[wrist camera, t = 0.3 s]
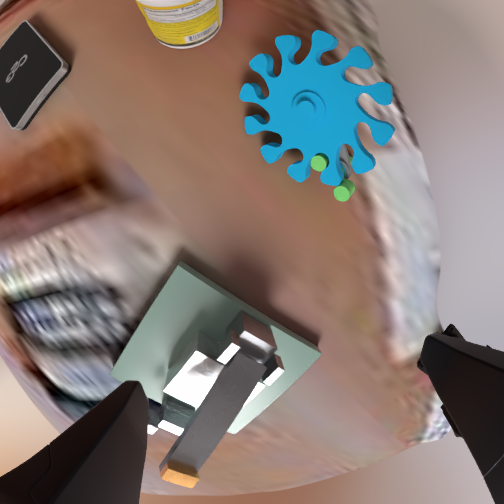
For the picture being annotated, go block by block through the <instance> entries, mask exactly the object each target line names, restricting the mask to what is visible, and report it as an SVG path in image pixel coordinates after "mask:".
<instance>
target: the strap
mask: <svg viewBox="0 0 504 504" xmlns="http://www.w3.org/2000/svg"><path fill="white" fill-rule="evenodd" d="M266 369H267V367H266V366H264V365H263V364H261V363H259V362H257V361H255V360H253V359H251V358H249V357H248V356H246V355H244V354H242V353H240V352H238V351H237V352H236V353H235V354H234V355H233V356H232V357H231V358H230V360H229V361H228V362H227V363H226V364H225V365H224V367H223V368H222V370H221V372H220V373H219V375H218V376H217V378H216V380H215V381H214V383H213V385H212V386H211V388H210V389H209V391H208V392H207V394H206V396H205V397H204V399H203V400H202V402H201V404H200V405H199V407H198V408H197V410H196V411H195V413H194V414H193V416H192V418H191V419H190V421H189V422H188V424H187V425H186V427H185V428H184V430H183V431H182V433H181V434H180V436H179V437H178V439H177V441H176V442H175V444H174V445H173V447H172V448H171V450H170V451H169V452H168V454H167V455H166V457H165V458H164V460H163V461H162V463H161V464H160V466H159V468H160V475H161V479H163V480H166V481H169V482H172V483H175V484H179V485H182V486H185V487H189V488H193V487H194V485H195V484H196V483H197V481H198V480H199V476H198V473H197V472H198V471H199V470H200V468H201V467H202V466H203V464H204V463H205V461H206V460H207V459H208V457H209V456H210V455H211V453H212V452H213V450H214V449H215V448H216V446H217V445H218V443H219V442H220V440H221V439H222V438H223V436H224V435H225V433H226V432H227V430H228V429H229V427H230V426H231V424H232V423H233V421H234V420H235V418H236V417H237V415H238V414H239V412H240V411H241V409H242V408H243V406H244V405H245V403H246V401H247V400H248V398H249V397H250V395H251V394H252V392H253V390H254V389H255V387H256V386H257V384H258V382H259V381H260V379H261V377H262V376H263V374H264V373H265V371H266Z"/></svg>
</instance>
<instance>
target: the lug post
mask: <svg viewBox="0 0 504 504" xmlns="http://www.w3.org/2000/svg"><path fill="white" fill-rule="evenodd" d="M194 413H195V409H194V408H192V407H189V406H187V405H185V404H183V403H181V402H179V401H177V400H175V399H173V398H170V397H168V396H167V397H166V398H165V399H164V400H163V402H162V404H161V409H160V414H159V418H157V417H155V416H153V415H150V417H149V418H148V432H147V433H149V434H153V433H154V432H155V431H156V430H157V429H158V427H160V428H163V429H165V430H167V431H169V432H172V433H174V434H176V435H179V436H180V434H181V433H182V431H183V430H184V428H185V427H186V425H187V424H188V422H189V421H190V419H191V418H192V416H193V414H194Z"/></svg>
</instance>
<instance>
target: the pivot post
mask: <svg viewBox="0 0 504 504" xmlns="http://www.w3.org/2000/svg"><path fill="white" fill-rule="evenodd" d="M277 350H278V348H277V345H276V342H275V339H274V336H273V333H272V329H271V327H270V326H268V325H266V324H265V323H263V322H261V321H260V320H258V319H256V318H255V317H253V316H251V315H250V314H248V313H246V312H245V311H243V310H242V309H241V311H240V312H239V313H238V314H237V315H236V317H235V318H234V319H233V320H232V322H231V323H230V324H229V325H228V326H227V328H226V336H225V337H224V338H223V339H222V341H221V342H220V343H219V344H218V345H217V360H218V361H220V362H222V363H224V364H226V363H227V362H228V361H229V360H230V358H231V357H232V356H233V355H234V354H235V353H236V352H237V351H238V352H240V353H242V354H244V355H246V356H248V357H249V358H251V359H253V360H255V361H257V362H259V363H261V364H263V365H264V366H266V367H267V369H266V371H265V373H264V374H263V376H262V381H263V383H265V384H267V385H269V386H270V385H271V384H272V383H273V382H274V381H275V380H276V379H277V378H278V377H279V376H280V375H281V374H282V373H283V372H284V371H285V369H284V366H283V363H282V360H281V357H280V356H278V355H276V354H275V352H276V351H277Z"/></svg>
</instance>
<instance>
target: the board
mask: <svg viewBox="0 0 504 504" xmlns="http://www.w3.org/2000/svg"><path fill="white" fill-rule="evenodd" d="M241 309H242V310H243V311H245V312H246V313H248V314H250V315H251V316H253V317H255V318H256V319H258V320H260V321H261V322H263V323H265V324H266V325H268V326H270V327H271V329H272V333H273V336H274V339H275V342H276V345H277V348H278V350H277V351H276V352H275V354H276V355H278V356H280V357H281V360H282V363H283V366H284V369H285V371H284V372H283V373H282V374H281V375H280V376H279V377H278V378H277V379H276V380H275V381H274V382H273V383H272V384H271V385H270V386H269V385H267V384H265V385H266V386H265V387H264V388H263V389H262V390H261V391H260V392H259V393H258V394H257V395H256V396H254V397H253V398H252V399H251V400H250V401H249V402H248V403H247V404H246V405H245V406H243V408H242V409H241V411H240V412H239V414H238V415H237V417H236V418H235V420H234V421H233V423H232V424H231V426H230V427H229V429H228V430H227V432H230V433H233V434H236V433H237V432H238V431H239V430H241V429H242V428H243V427H244V426H246V425H247V424H248V423H249V422H250V421H252V420H253V419H254V418H255V417H256V416H257V415H259V414H260V413H261V412H262V411H263V410H264V409H266V408H267V407H268V406H269V405H270V404H271V403H272V402H273V401H274V400H276V399H277V398H278V397H279V396H280V395H281V394H282V393H283V392H284V391H285V390H286V389H287V388H289V387H290V386H291V385H292V384H293V383H294V382H295V381H296V380H297V379H298V378H299V377H300V376H301V375H302V374H303V373H304V372H305V371H306V370H307V369H308V368H309V367H310V366H311V365H312V364H313V363H314V362H315V361H316V360H317V359H318V358H319V357H320V356H321V355H322V353H321V351H320V350H319V348H318V346H316V345H314V344H313V343H311V342H309V341H307V340H306V339H304V338H302V337H301V336H299V335H297V334H296V333H294V332H292V331H291V330H289V329H287V328H286V327H284V326H282V325H281V324H279V323H277V322H276V321H274V320H272V319H271V318H269V317H268V316H266V315H264V314H263V313H261V312H259V311H258V310H256V309H255V308H253V307H251V306H250V305H248V304H247V303H245V302H243V301H242V300H240V299H239V298H237V297H236V296H234V295H232V294H231V293H229V292H228V291H226V290H225V289H223V288H222V287H220V286H219V285H217V284H215V283H214V282H212V281H211V280H209V279H208V278H206V277H205V276H203V275H202V274H200V273H199V272H197V271H196V270H194V269H193V268H191V267H190V266H188V265H187V264H185V263H184V262H182V261H181V260H180V262H179V263H178V265H177V266H176V268H175V269H174V271H173V272H172V274H171V275H170V277H169V278H168V280H167V281H166V283H165V284H164V286H163V287H162V289H161V290H160V292H159V293H158V295H157V297H156V298H155V300H154V301H153V303H152V304H151V306H150V307H149V309H148V311H147V312H146V314H145V315H144V317H143V319H142V320H141V322H140V323H139V325H138V327H137V328H136V330H135V331H134V333H133V335H132V336H131V338H130V340H129V341H128V343H127V345H126V346H125V348H124V350H123V351H122V353H121V355H120V356H119V358H118V360H117V361H116V363H115V365H114V367H113V369H112V371H111V373H110V375H111V376H112V377H114V378H116V379H117V380H119V381H121V382H122V383H123V382H125V381H127V380H137V381H139V382H140V383H141V384H142V387H143V389H144V392H145V394H146V396H147V397H149V398H151V399H153V400H155V401H157V402H159V403H161V404H162V402H163V400H164V399H165V398H166V397H167V396H168V397H170V398H173V399H175V400H177V401H179V402H181V403H183V404H185V405H187V406H189V407H192V408H194V409H195V411H196V410H197V408H198V407H195V406H193V405H191V404H189V403H187V402H185V401H182V400H180V399H178V398H176V397H174V396H172V395H170V394H168V393H166V392H164V391H163V390H164V386H165V381H166V377H167V372H168V369H169V368H170V366H171V365H172V364H173V362H174V361H175V360H176V359H177V357H178V356H179V355H180V353H181V352H182V351H183V350H184V348H185V347H186V346H187V344H188V343H189V342H190V341H191V339H192V338H193V337H194V336H195V334H196V333H197V332H198V330H200V331H202V332H203V333H205V334H207V335H209V336H210V337H212V338H214V339H216V340H217V341H219V342H221V341H222V339H223V338H224V337H225V336H226V328H227V326H228V325H229V324H230V323H231V322H232V320H233V319H234V318H235V317H236V315H237V314H238V313H239V312H240V311H241Z"/></svg>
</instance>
